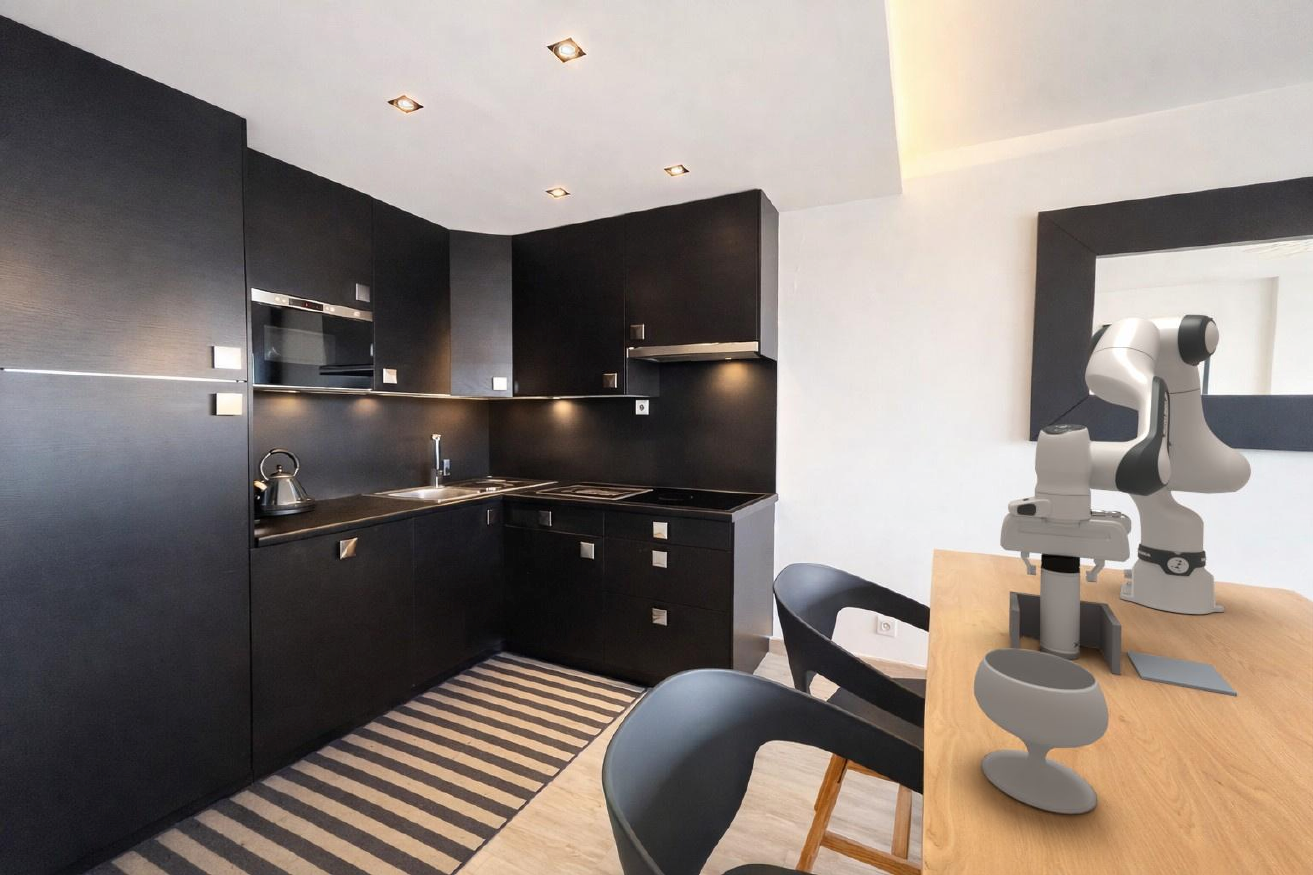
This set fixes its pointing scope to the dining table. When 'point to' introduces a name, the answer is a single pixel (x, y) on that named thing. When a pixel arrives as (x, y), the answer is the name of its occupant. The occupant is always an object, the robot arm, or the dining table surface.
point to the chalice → (1040, 725)
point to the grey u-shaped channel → (1094, 626)
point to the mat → (1180, 673)
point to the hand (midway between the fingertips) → (1060, 577)
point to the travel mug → (1060, 606)
